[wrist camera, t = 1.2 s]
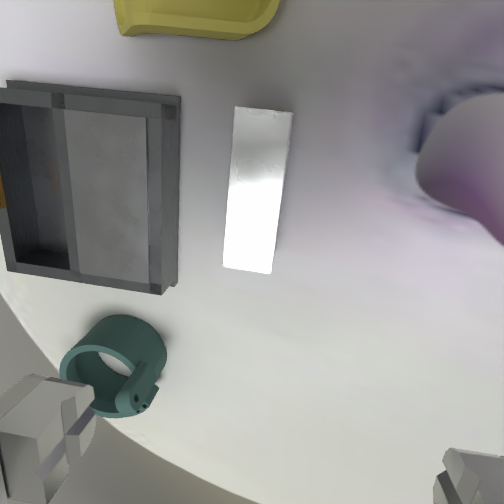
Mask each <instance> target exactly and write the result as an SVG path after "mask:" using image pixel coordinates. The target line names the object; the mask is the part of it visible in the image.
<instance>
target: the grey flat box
mask: <svg viewBox="0 0 504 504" xmlns="http://www.w3.org/2000/svg"><path fill="white" fill-rule="evenodd" d="M6 82H7V88H0V234H1V240H2V245H3V250H4V256H5V261H6V266H7V271H10V272H16V273H23V274H29V275H36V276H42V277H48V278H55V279H61V280H67V281H74V282H80V283H86V284H93V285H99V286H105V287H112V288H118V289H125V290H131V291H137V292H144V293H150V294H156V295H162V294H163V293H164V292H165V291H166V289H167V288H168V287H169V286H172V287H175V286H176V284H177V281H178V220H179V158H180V97H177V96H168V95H158V94H147V93H137V92H126V91H116V90H105V89H95V88H84V87H74V86H63V85H53V84H43V83H32V82H22V81H11V80H6Z"/></svg>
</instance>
